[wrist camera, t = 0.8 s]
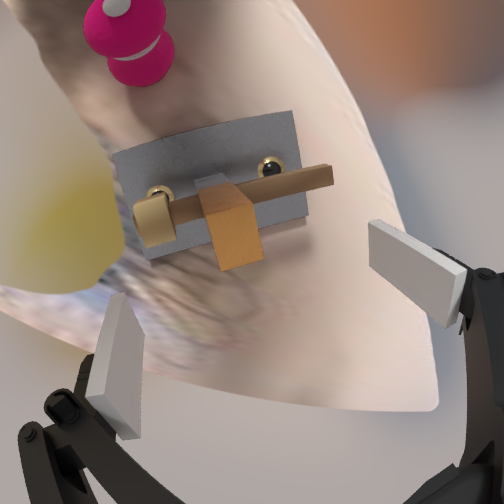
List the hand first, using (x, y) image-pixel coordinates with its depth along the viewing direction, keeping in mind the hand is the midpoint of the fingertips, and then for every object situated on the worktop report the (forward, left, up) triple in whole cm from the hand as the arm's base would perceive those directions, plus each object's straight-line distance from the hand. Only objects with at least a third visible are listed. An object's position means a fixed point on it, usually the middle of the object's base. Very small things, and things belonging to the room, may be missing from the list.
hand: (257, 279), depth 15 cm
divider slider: (0, 0, -22) cm, 22 cm away
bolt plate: (0, +1, -25) cm, 25 cm away
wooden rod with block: (0, +2, -23) cm, 23 cm away
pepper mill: (-17, -4, -25) cm, 30 cm away
